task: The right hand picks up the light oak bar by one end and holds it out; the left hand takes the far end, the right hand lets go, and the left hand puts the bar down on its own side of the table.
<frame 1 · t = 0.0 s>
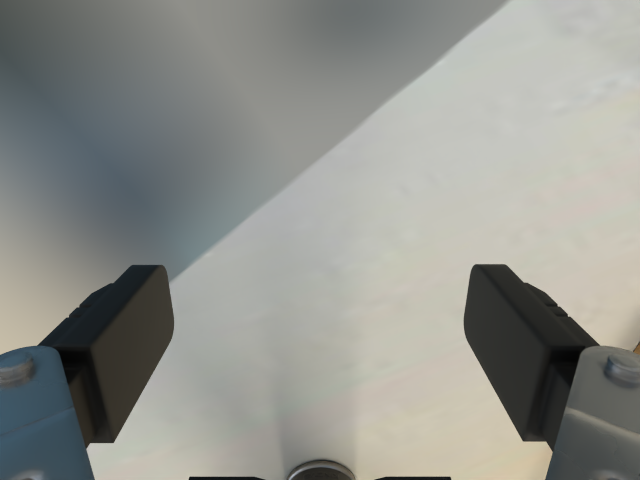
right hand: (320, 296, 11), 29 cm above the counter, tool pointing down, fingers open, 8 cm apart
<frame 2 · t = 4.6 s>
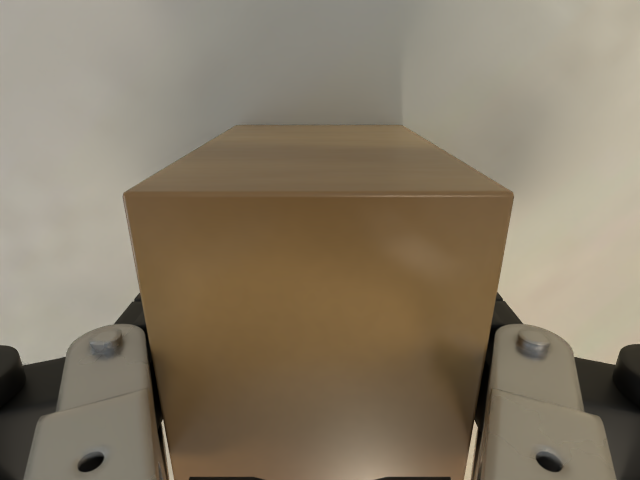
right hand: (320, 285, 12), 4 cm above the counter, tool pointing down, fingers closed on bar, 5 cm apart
bar: (319, 423, 19), on the counter, touching right hand
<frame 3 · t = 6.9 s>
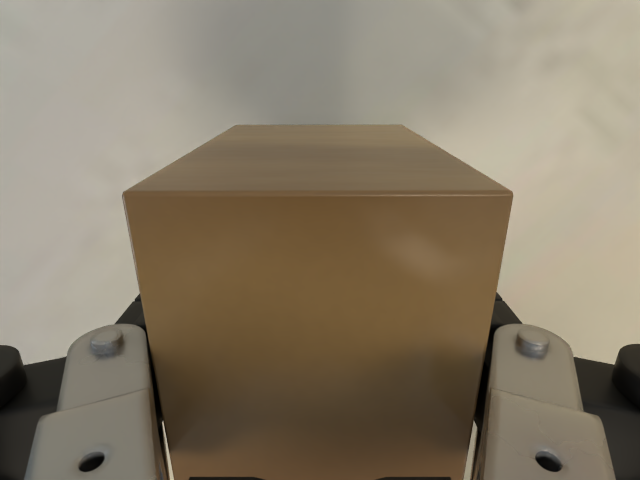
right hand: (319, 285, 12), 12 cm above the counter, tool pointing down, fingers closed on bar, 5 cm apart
bar: (319, 423, 19), point 8 cm above the counter, touching right hand
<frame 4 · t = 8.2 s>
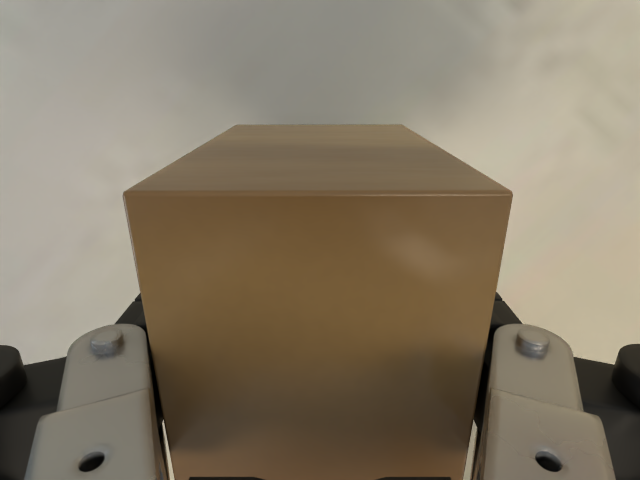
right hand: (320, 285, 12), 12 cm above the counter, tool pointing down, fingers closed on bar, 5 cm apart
bar: (319, 422, 19), point 8 cm above the counter, touching right hand, left hand
when the right hand's fingers open (12 cm above the counter, at t = 9.5 s): bar stays where it is, held by the left hand.
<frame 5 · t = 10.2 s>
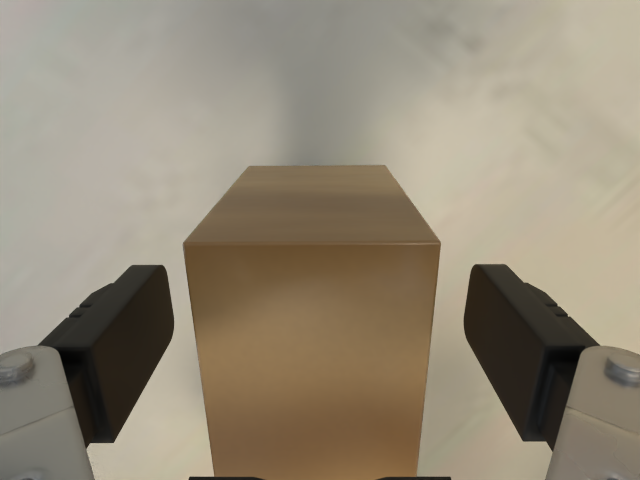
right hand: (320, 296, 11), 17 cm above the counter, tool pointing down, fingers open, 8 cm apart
bar: (319, 414, 22), point 10 cm above the counter, touching left hand
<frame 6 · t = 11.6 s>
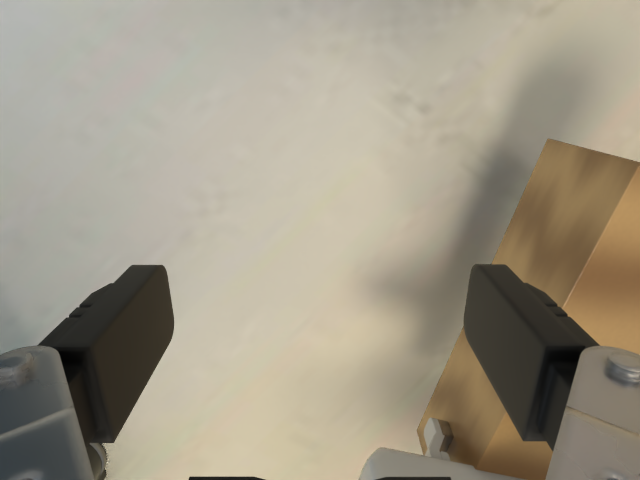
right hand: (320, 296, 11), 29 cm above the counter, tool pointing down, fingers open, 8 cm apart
bar: (506, 313, 32), point 11 cm above the counter, touching left hand
when the left hand's fingers open (5 cm above the counter, at t = 15.3 s): bar stays where it is, on the counter.
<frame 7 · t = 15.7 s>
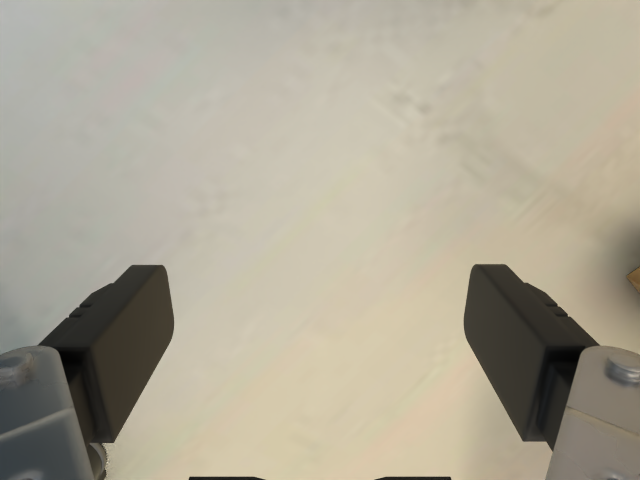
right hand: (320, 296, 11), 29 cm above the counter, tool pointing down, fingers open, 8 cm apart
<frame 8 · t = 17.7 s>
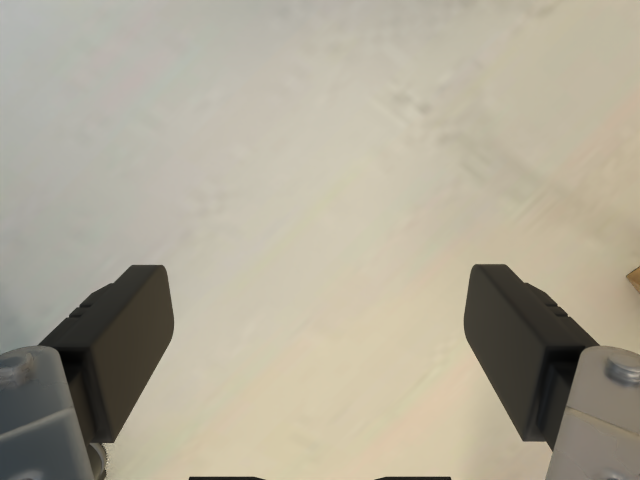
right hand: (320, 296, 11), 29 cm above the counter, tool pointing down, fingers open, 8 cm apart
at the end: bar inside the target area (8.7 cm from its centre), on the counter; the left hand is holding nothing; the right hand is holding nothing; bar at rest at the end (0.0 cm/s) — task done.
